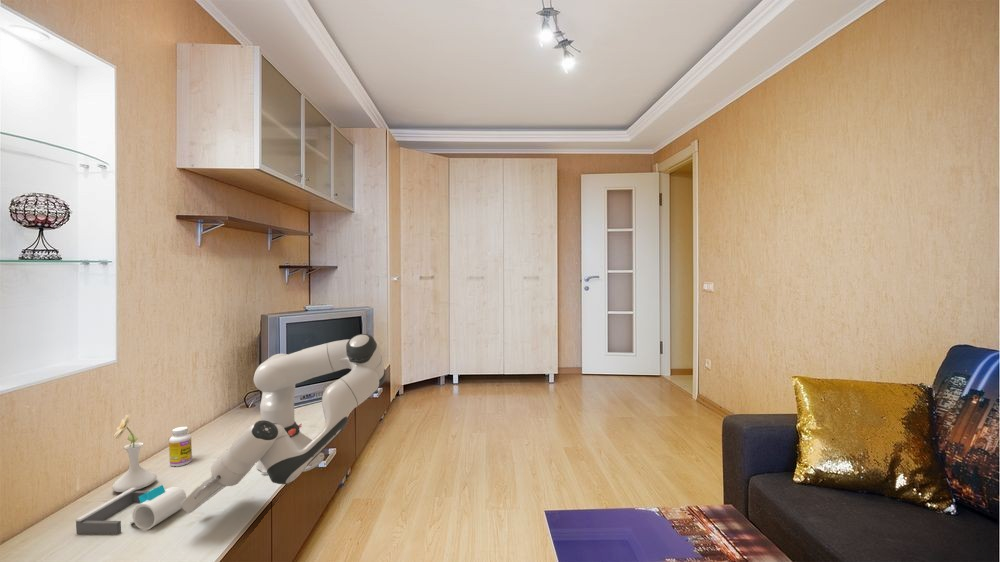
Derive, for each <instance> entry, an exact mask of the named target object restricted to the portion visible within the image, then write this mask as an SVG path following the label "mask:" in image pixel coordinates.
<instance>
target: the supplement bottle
mask: <svg viewBox="0 0 1000 562" xmlns="http://www.w3.org/2000/svg"><path fill="white" fill-rule="evenodd" d="M171 431H172V432H171V433H172V436H171V437H170V438H169V439H168V446H169V447H168V448H169V449H168V450H169V454H168V455H169V465H170V466H171V467H174V466H176V467H182V466H186V465H188V464H190V463H191V462H192V460H193V455H192V454H193V452H192V451H193V450H192V435H191V433H188V431H189V427H188V426H178V427H176V428H173V429H172V430H171ZM185 464H186V465H185Z"/></svg>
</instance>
